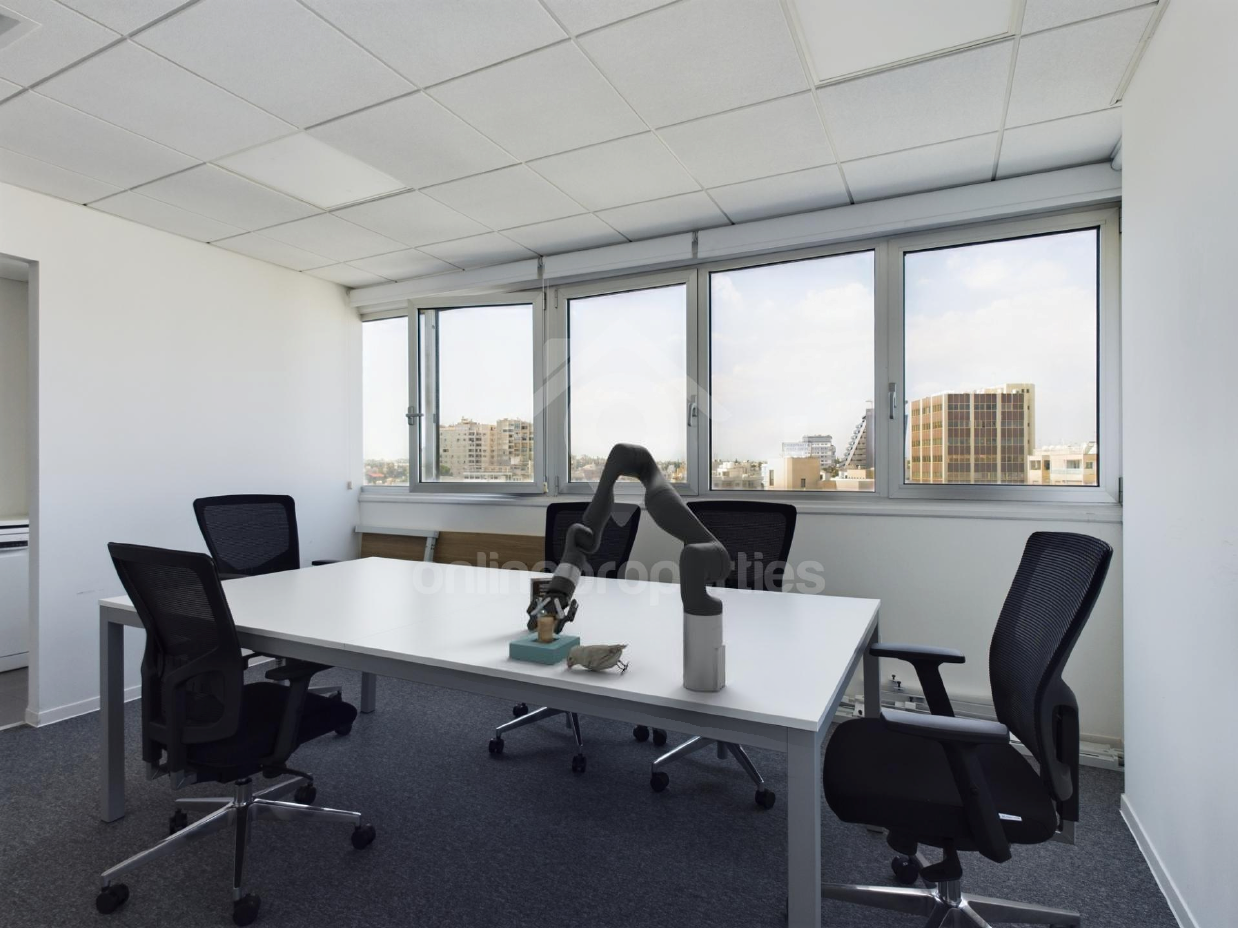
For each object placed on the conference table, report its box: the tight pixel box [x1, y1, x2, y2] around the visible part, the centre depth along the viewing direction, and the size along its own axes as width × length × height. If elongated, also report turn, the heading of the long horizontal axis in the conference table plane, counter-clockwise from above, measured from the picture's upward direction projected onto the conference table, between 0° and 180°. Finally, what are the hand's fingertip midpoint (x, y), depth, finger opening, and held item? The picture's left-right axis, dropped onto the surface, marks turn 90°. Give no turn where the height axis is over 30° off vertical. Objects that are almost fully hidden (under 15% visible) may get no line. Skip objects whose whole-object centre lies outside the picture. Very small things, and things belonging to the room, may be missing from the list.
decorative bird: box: [566, 643, 631, 675], centre depth 163 cm, size 5×16×8 cm, turn 73°
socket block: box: [508, 632, 581, 666], centre depth 177 cm, size 14×14×4 cm
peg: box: [538, 616, 554, 644], centre depth 178 cm, size 4×4×10 cm
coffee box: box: [529, 577, 560, 633], centre depth 206 cm, size 9×6×16 cm
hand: (542, 631), depth 176 cm, fingers open, 8 cm apart
